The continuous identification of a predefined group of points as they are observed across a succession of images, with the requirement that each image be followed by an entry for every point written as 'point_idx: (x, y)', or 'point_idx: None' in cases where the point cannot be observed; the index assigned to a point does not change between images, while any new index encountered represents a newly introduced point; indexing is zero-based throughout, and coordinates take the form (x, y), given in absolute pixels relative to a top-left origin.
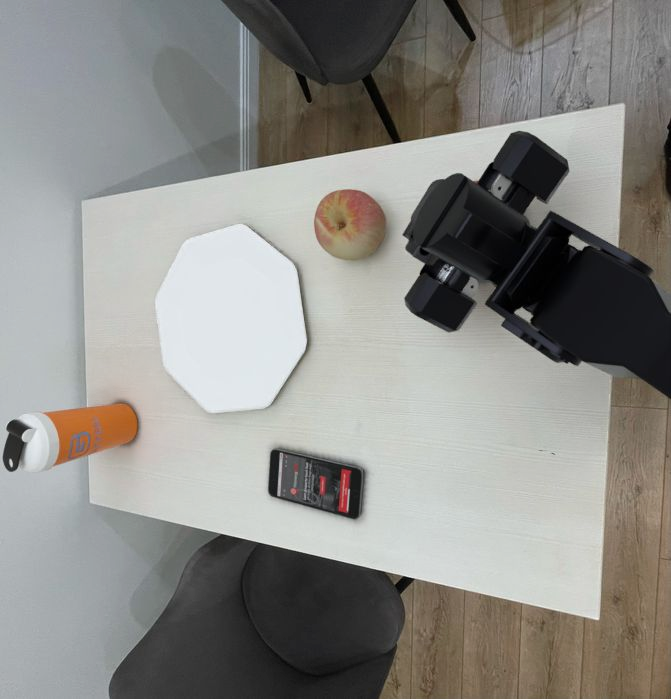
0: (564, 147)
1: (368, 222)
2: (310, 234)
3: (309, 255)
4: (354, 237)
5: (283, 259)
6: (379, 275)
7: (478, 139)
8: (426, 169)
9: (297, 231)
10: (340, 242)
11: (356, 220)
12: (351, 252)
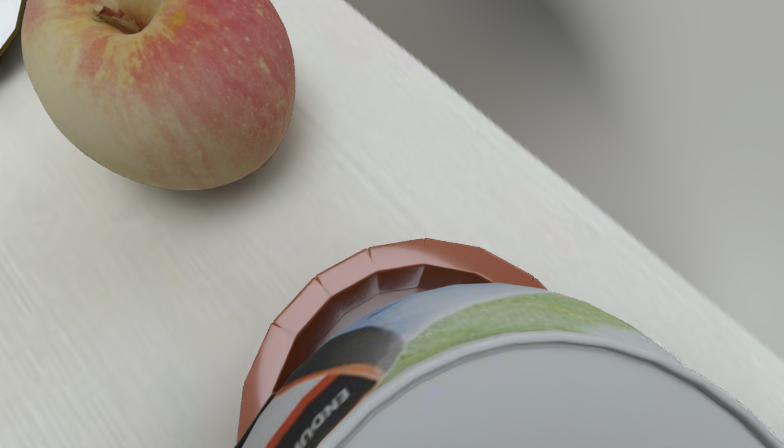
0: None
1: (197, 94)
2: None
3: None
4: (106, 82)
5: (8, 2)
6: (134, 249)
7: (597, 218)
8: (451, 161)
9: None
10: (53, 49)
11: (167, 47)
12: (63, 116)
